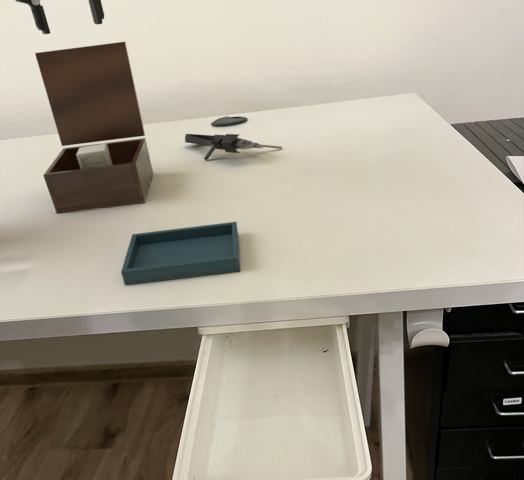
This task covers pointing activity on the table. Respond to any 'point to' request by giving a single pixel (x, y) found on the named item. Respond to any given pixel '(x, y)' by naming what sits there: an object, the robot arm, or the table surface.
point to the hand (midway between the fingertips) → (73, 28)
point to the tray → (182, 253)
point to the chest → (100, 178)
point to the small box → (94, 156)
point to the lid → (91, 93)
